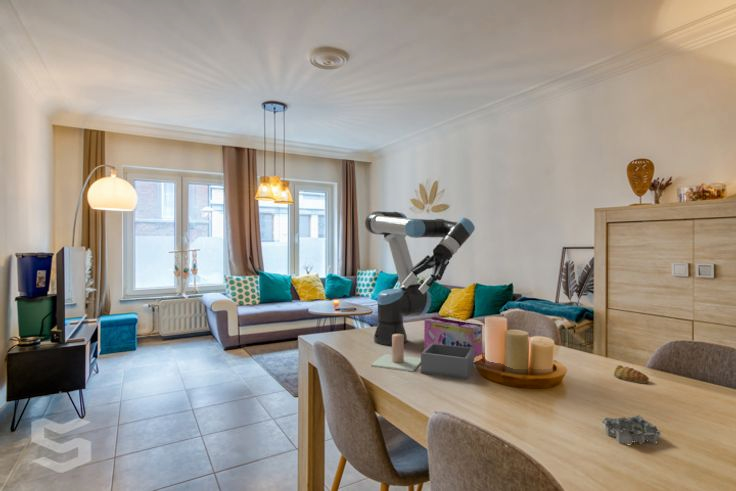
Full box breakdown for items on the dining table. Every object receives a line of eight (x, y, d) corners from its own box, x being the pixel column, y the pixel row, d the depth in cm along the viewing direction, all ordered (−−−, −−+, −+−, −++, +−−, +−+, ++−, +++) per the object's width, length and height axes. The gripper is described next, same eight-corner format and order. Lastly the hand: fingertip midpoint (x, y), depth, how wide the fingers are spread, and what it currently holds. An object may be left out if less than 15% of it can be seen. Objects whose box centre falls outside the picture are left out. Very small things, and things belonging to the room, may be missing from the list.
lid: (384, 356, 157) (384, 329, 157) (423, 361, 151) (423, 332, 151) (371, 367, 144) (371, 337, 144) (413, 372, 138) (412, 341, 138)
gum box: (420, 351, 163) (420, 319, 163) (431, 347, 169) (431, 316, 168) (473, 364, 146) (473, 328, 146) (482, 359, 152) (483, 324, 152)
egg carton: (621, 447, 88) (621, 429, 88) (599, 431, 96) (599, 414, 96) (665, 445, 89) (665, 427, 89) (640, 429, 97) (640, 412, 97)
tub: (431, 361, 149) (431, 343, 149) (474, 367, 143) (474, 347, 143) (420, 373, 137) (420, 353, 136) (467, 379, 130) (467, 358, 130)
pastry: (652, 381, 128) (652, 370, 128) (643, 386, 124) (643, 374, 124) (620, 373, 136) (620, 362, 136) (611, 378, 132) (611, 366, 132)
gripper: (470, 258, 146) (435, 300, 141) (434, 254, 169) (403, 290, 164) (458, 244, 144) (422, 287, 139) (424, 241, 167) (392, 278, 162)
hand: (412, 288), depth 152 cm, fingers open, 13 cm apart
